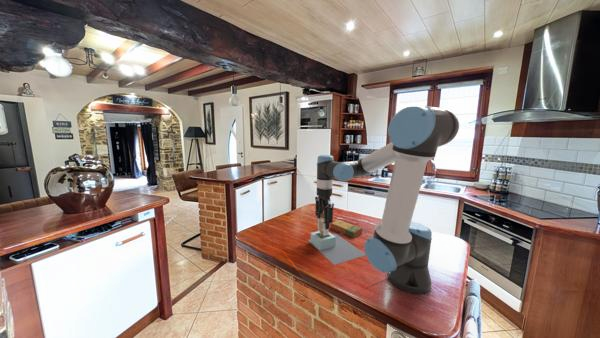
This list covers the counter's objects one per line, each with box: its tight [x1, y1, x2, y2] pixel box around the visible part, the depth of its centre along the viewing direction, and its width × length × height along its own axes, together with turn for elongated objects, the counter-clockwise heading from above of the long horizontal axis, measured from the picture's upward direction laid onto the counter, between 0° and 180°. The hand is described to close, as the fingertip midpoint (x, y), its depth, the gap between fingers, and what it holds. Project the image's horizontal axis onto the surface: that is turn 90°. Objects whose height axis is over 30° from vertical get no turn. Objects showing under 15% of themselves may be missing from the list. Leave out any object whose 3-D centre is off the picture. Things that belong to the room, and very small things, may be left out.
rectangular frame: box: [310, 230, 336, 251], centre depth 111 cm, size 9×9×5 cm
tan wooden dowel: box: [320, 212, 327, 238], centre depth 110 cm, size 4×4×16 cm
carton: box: [330, 219, 363, 239], centre depth 126 cm, size 8×16×4 cm, turn 43°
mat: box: [307, 232, 366, 266], centre depth 109 cm, size 24×18×1 cm
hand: (323, 232), depth 110 cm, fingers open, 4 cm apart
